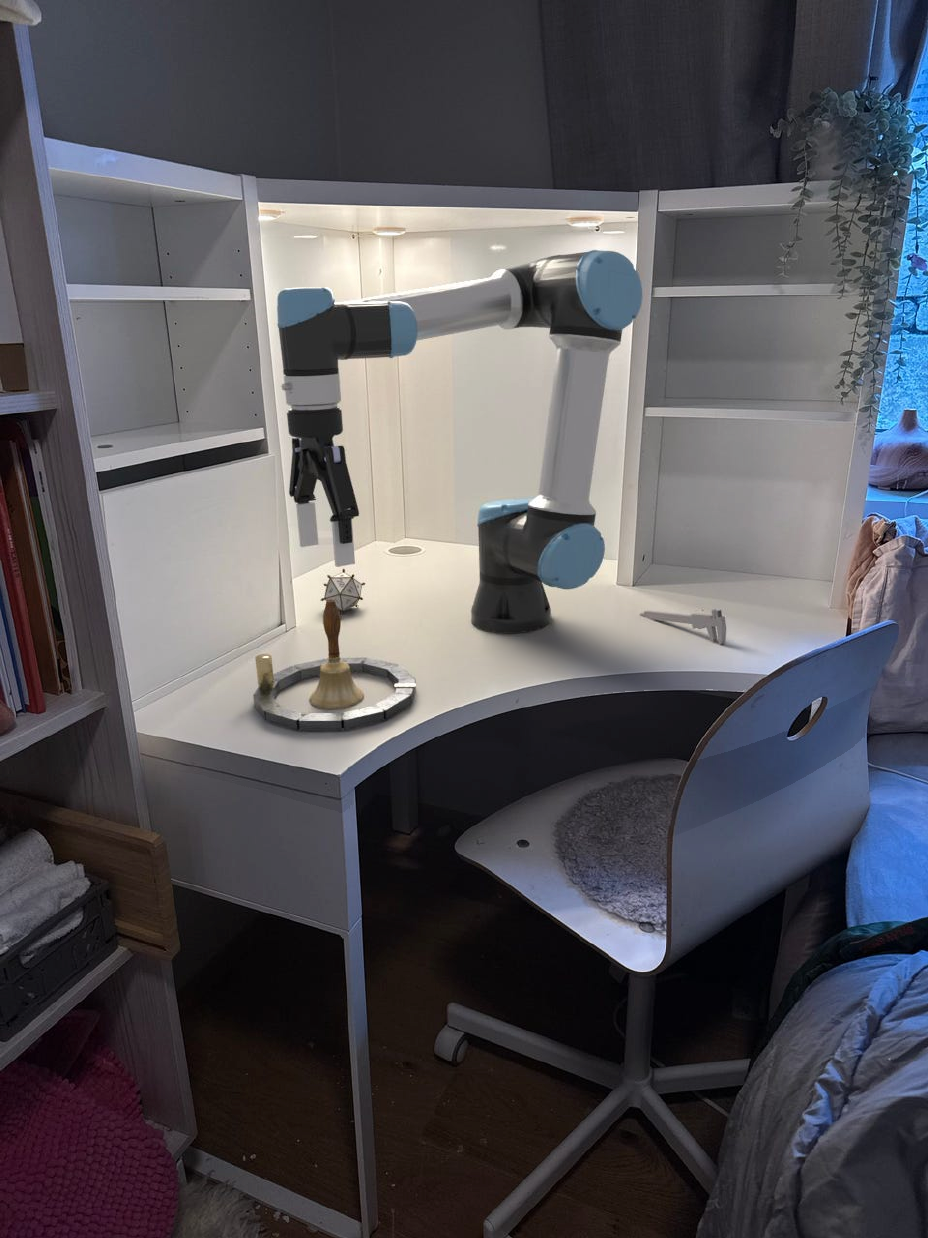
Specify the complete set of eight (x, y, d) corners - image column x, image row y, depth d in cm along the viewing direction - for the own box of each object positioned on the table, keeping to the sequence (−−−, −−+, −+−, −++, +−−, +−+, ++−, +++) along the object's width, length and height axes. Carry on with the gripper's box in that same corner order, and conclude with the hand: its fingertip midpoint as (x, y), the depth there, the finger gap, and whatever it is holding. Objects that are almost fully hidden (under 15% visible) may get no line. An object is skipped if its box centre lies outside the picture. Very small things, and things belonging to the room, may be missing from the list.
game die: (355, 628, 178) (378, 594, 173) (317, 621, 173) (338, 586, 168) (347, 596, 184) (368, 562, 178) (309, 589, 179) (330, 554, 174)
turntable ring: (278, 667, 149) (274, 630, 146) (423, 666, 147) (421, 628, 145) (237, 731, 126) (232, 688, 124) (407, 730, 125) (405, 687, 122)
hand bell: (366, 686, 141) (359, 590, 135) (361, 709, 133) (354, 608, 128) (313, 688, 141) (305, 592, 135) (306, 710, 133) (296, 609, 127)
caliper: (725, 645, 154) (728, 611, 152) (721, 647, 153) (723, 612, 151) (643, 615, 170) (644, 584, 168) (638, 616, 170) (640, 585, 168)
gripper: (258, 402, 131) (273, 541, 138) (322, 415, 111) (336, 578, 118) (306, 398, 135) (318, 534, 142) (377, 411, 114) (387, 569, 121)
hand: (326, 554), depth 130 cm, fingers open, 13 cm apart
